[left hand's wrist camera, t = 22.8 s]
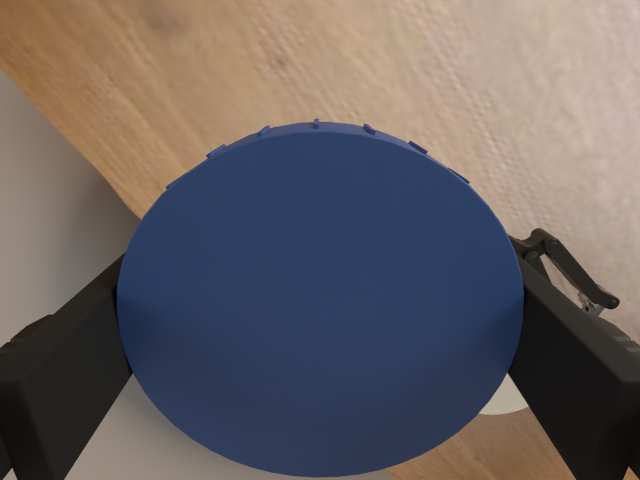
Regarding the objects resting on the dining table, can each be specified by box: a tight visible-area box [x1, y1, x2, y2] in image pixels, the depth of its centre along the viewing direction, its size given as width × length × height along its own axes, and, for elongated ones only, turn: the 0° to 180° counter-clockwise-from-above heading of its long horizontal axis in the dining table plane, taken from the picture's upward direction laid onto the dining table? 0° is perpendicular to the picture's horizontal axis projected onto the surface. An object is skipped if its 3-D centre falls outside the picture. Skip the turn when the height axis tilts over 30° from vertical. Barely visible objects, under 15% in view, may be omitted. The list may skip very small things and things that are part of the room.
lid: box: [116, 119, 524, 477], centre depth 11 cm, size 11×11×2 cm
